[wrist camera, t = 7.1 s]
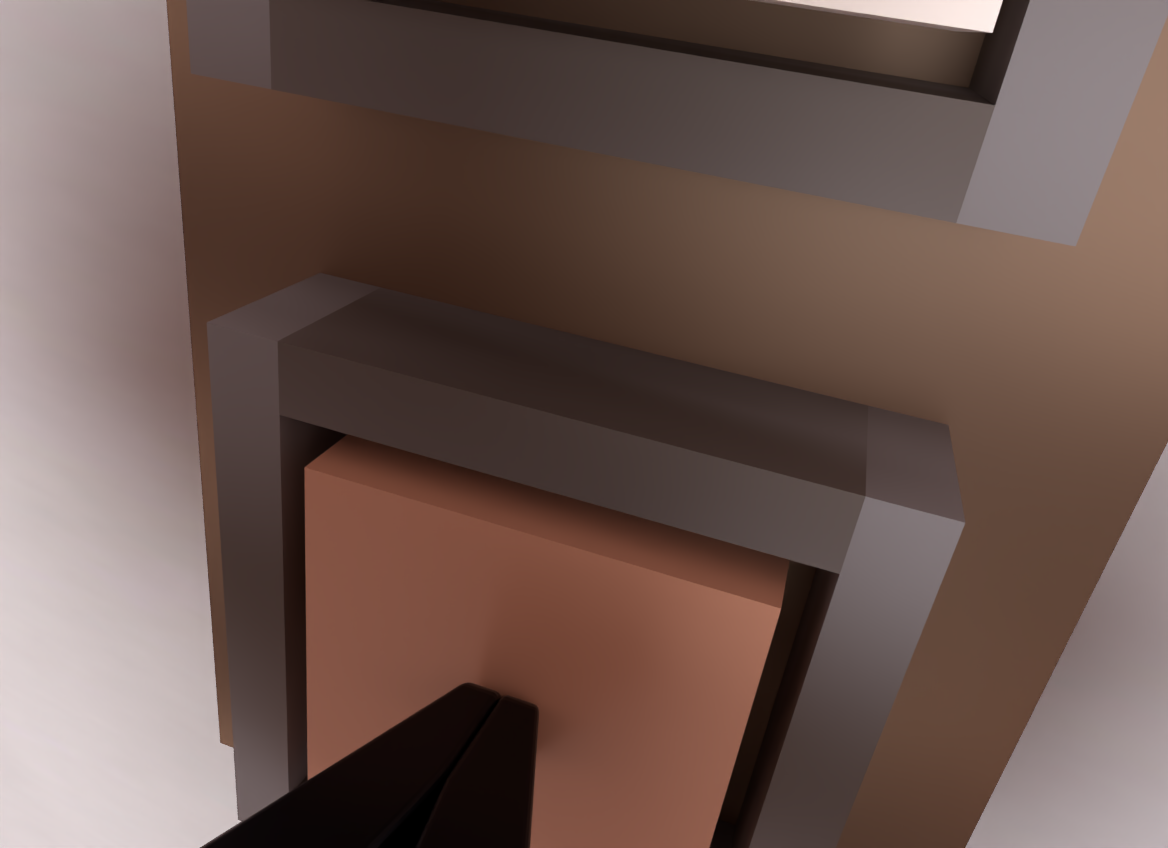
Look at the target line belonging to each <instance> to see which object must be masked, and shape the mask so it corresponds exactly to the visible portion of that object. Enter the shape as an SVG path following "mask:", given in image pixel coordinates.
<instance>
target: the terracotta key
mask: <svg viewBox="0 0 1168 848" xmlns="http://www.w3.org/2000/svg"><path fill="white" fill-rule="evenodd" d="M304 474H305V570H306V667H307V763H308V780H309V779H310V778H312V777H314V776H315V775H317V774H318V773H320V772H322V771H323V770H325V769H326V768H328V767H330V766H331V765H333V764H334V763H336V762H338V761H339V760H341V759H342V758H344V757H346V756H347V755H349V754H350V753H352V752H354V751H355V750H357V749H358V748H360V747H362V746H363V745H365V744H366V743H368V742H370V741H371V740H373V739H374V738H376V737H378V736H379V735H381V734H382V733H384V732H386V731H387V730H389V729H390V728H392V727H393V726H395V725H397V724H398V723H400V722H401V721H403V720H405V719H406V718H408V717H409V716H411V715H413V714H414V713H416V712H417V711H419V710H421V709H422V708H424V707H425V706H427V705H429V704H430V703H432V702H433V701H435V700H437V699H438V698H440V697H441V696H443V695H445V694H446V693H448V692H449V691H451V690H453V689H454V688H456V687H457V686H459V685H461V684H463V683H467V682H470V683H474V684H477V685H480V686H483V687H486V688H489V689H492V690H495V691H497V692H498V693H499V694H500V695H501V698H502V697H504V696H506V695H509V696H512V697H515V698H518V699H521V700H524V701H527V702H530V703H533V704H535V705H537V707H538V708H539V724H538V739H537V754H536V768H535V783H534V798H533V813H532V828H531V843H530V848H709V847H710V844H711V841H712V837H713V834H714V831H715V827H716V824H717V821H718V817H719V814H720V811H721V807H722V804H723V801H724V797H725V794H726V791H727V787H728V784H729V781H730V777H731V774H732V771H733V767H734V764H735V761H736V757H737V754H738V751H739V747H740V744H741V741H742V737H743V734H744V731H745V727H746V724H747V721H748V717H749V714H750V711H751V707H752V704H753V701H754V698H755V694H756V691H757V688H758V684H759V681H760V678H761V674H762V671H763V668H764V664H765V661H766V658H767V654H768V651H769V648H770V644H771V641H772V638H773V634H774V631H775V628H776V624H777V621H778V618H779V614H780V611H781V607H782V601H783V595H784V589H785V583H786V577H787V572H788V566H789V560H788V559H785V558H781V557H778V556H774V555H771V554H767V553H764V552H760V551H757V550H753V549H750V548H746V547H743V546H739V545H736V544H732V543H729V542H725V541H722V540H718V539H715V538H711V537H707V536H704V535H700V534H697V533H693V532H690V531H686V530H683V529H679V528H676V527H672V526H669V525H665V524H662V523H658V522H655V521H651V520H648V519H644V518H641V517H637V516H634V515H630V514H627V513H623V512H619V511H616V510H612V509H609V508H605V507H602V506H598V505H595V504H591V503H588V502H584V501H581V500H577V499H574V498H570V497H567V496H563V495H560V494H556V493H553V492H549V491H546V490H542V489H538V488H535V487H531V486H528V485H524V484H521V483H517V482H514V481H510V480H507V479H503V478H500V477H496V476H493V475H489V474H486V473H482V472H479V471H475V470H472V469H468V468H465V467H461V466H458V465H454V464H450V463H447V462H443V461H440V460H436V459H433V458H429V457H426V456H422V455H419V454H415V453H412V452H408V451H405V450H401V449H398V448H394V447H391V446H387V445H384V444H380V443H377V442H373V441H370V440H366V439H362V438H359V437H355V436H352V435H346V436H345V437H344V438H342V439H341V440H340V441H338V442H337V443H336V444H334V445H333V446H332V447H330V448H329V449H328V450H327V451H325V452H324V453H323V454H321V455H320V456H319V457H317V458H316V459H315V460H313V461H312V462H311V463H310V464H308V465H307V466H306V467H304Z"/></svg>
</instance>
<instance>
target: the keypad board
mask: <svg viewBox="0 0 1168 848" xmlns="http://www.w3.org/2000/svg"><path fill="white" fill-rule="evenodd" d="M167 14H168V27H169V41H170V55H171V69H172V82H173V96H174V110H175V124H176V137H177V151H178V165H179V179H180V192H181V206H182V220H183V234H184V247H185V261H186V275H187V289H188V303H189V316H190V330H191V344H192V358H193V371H194V385H195V399H196V413H197V426H198V440H199V454H200V468H201V481H202V495H203V509H204V523H205V536H206V550H207V564H208V578H209V592H210V605H211V619H212V633H213V647H214V660H215V674H216V688H217V702H218V715H219V729H220V743H222V744H225V745H228V746H230V747H233V748H234V762H235V778H236V793H237V809H238V820H240V821H243V820H245V819H247V818H248V817H250V816H251V815H253V814H255V813H256V812H258V811H259V810H261V809H263V808H264V807H266V806H267V805H269V804H271V803H272V802H274V801H275V800H277V799H279V798H280V797H282V796H283V795H285V794H287V793H288V792H290V791H291V790H293V789H294V788H296V787H298V786H299V785H301V784H302V783H304V782H306V781H307V780H308V763H307V667H306V570H305V474H304V467H306V466H307V465H308V464H310V463H311V462H312V461H313V460H315V459H316V458H317V457H319V456H320V455H321V454H323V453H324V452H325V451H327V450H328V449H329V448H330V447H332V446H333V445H334V444H336V443H337V442H338V441H340V440H341V439H342V438H344V437H345V436H346V435H352V436H355V437H359V438H362V439H366V440H370V441H373V442H377V443H380V444H384V445H387V446H391V447H394V448H398V449H401V450H405V451H408V452H412V453H415V454H419V455H422V456H426V457H429V458H433V459H436V460H440V461H443V462H447V463H450V464H454V465H458V466H461V467H465V468H468V469H472V470H475V471H479V472H482V473H486V474H489V475H493V476H496V477H500V478H503V479H507V480H510V481H514V482H517V483H521V484H524V485H528V486H531V487H535V488H538V489H542V490H546V491H549V492H553V493H556V494H560V495H563V496H567V497H570V498H574V499H577V500H581V501H584V502H588V503H591V504H595V505H598V506H602V507H605V508H609V509H612V510H616V511H619V512H623V513H627V514H630V515H634V516H637V517H641V518H644V519H648V520H651V521H655V522H658V523H662V524H665V525H669V526H672V527H676V528H679V529H683V530H686V531H690V532H693V533H697V534H700V535H704V536H707V537H711V538H715V539H718V540H722V541H725V542H729V543H732V544H736V545H739V546H743V547H746V548H750V549H753V550H757V551H760V552H764V553H767V554H771V555H774V556H778V557H781V558H785V559H788V560H789V566H788V572H787V577H786V583H785V589H784V595H783V601H782V607H781V611H780V614H779V618H778V621H777V624H776V628H775V631H774V634H773V638H772V641H771V644H770V648H769V651H768V654H767V658H766V661H765V664H764V668H763V671H762V674H761V678H760V681H759V684H758V688H757V691H756V694H755V698H754V701H753V704H752V707H751V711H750V714H749V717H748V721H747V724H746V727H745V731H744V734H743V737H742V741H741V744H740V747H739V751H738V754H737V757H736V761H735V764H734V767H733V771H732V774H731V777H730V781H729V784H728V787H727V791H726V794H725V797H724V801H723V804H722V807H721V811H720V814H719V817H718V821H717V824H716V827H715V831H714V834H713V837H712V841H711V844H710V847H709V848H965V847H966V845H967V843H968V841H969V839H970V837H971V835H972V833H973V831H974V829H975V827H976V825H977V823H978V821H979V819H980V817H981V815H982V813H983V811H984V809H985V807H986V805H987V803H988V801H989V799H990V797H991V795H992V793H993V791H994V789H995V787H996V785H997V783H998V781H999V779H1000V777H1001V775H1002V773H1003V771H1004V769H1005V767H1006V765H1007V763H1008V761H1009V759H1010V757H1011V755H1012V753H1013V751H1014V749H1015V747H1016V745H1017V743H1018V741H1019V739H1020V737H1021V735H1022V733H1023V731H1024V729H1025V727H1026V725H1027V723H1028V721H1029V719H1030V717H1031V715H1032V713H1033V711H1034V708H1035V706H1036V704H1037V702H1038V700H1039V698H1040V696H1041V694H1042V692H1043V690H1044V688H1045V686H1046V684H1047V682H1048V680H1049V678H1050V676H1051V674H1052V672H1053V670H1054V668H1055V666H1056V664H1057V662H1058V660H1059V658H1060V656H1061V654H1062V652H1063V650H1064V648H1065V646H1066V644H1067V642H1068V640H1069V638H1070V636H1071V634H1072V632H1073V630H1074V628H1075V626H1076V624H1077V622H1078V620H1079V618H1080V616H1081V614H1082V612H1083V610H1084V608H1085V606H1086V604H1087V602H1088V600H1089V598H1090V596H1091V594H1092V592H1093V590H1094V588H1095V586H1096V584H1097V582H1098V580H1099V578H1100V576H1101V574H1102V572H1103V570H1104V568H1105V566H1106V564H1107V562H1108V560H1109V558H1110V556H1111V554H1112V552H1113V550H1114V548H1115V546H1116V544H1117V542H1118V540H1119V538H1120V536H1121V534H1122V532H1123V530H1124V528H1125V526H1126V524H1127V522H1128V520H1129V518H1130V516H1131V514H1132V512H1133V510H1134V508H1135V506H1136V504H1137V502H1138V500H1139V498H1140V496H1141V494H1142V492H1143V490H1144V488H1145V486H1146V484H1147V482H1148V480H1149V478H1150V476H1151V474H1152V472H1153V470H1154V468H1155V466H1156V464H1157V462H1158V460H1159V458H1160V456H1161V454H1162V452H1163V450H1164V448H1165V446H1166V444H1167V442H1168V0H1003V2H1002V5H1001V8H1000V11H999V14H998V17H997V20H996V24H995V27H994V30H993V33H984V32H957V31H950V30H943V29H937V28H930V27H923V26H917V25H910V24H904V23H897V22H890V21H884V20H877V19H871V18H864V17H857V16H851V15H844V14H837V13H831V12H824V11H818V10H811V9H804V8H798V7H791V6H784V5H778V4H771V3H765V2H758V1H751V0H167Z"/></svg>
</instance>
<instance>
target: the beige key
mask: <svg viewBox="0 0 1168 848" xmlns="http://www.w3.org/2000/svg"><path fill="white" fill-rule="evenodd" d="M751 1H758V2H765V3H771V4H778V5H784V6H791V7H798V8H804V9H811V10H818V11H824V12H831V13H837V14H844V15H851V16H857V17H864V18H871V19H877V20H884V21H890V22H897V23H904V24H910V25H917V26H923V27H930V28H937V29H943V30H950V31H957V32H984V33H993V30H994V27H995V24H996V20H997V17H998V14H999V11H1000V8H1001V5H1002V2H1003V0H751Z"/></svg>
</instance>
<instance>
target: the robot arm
mask: <svg viewBox="0 0 1168 848" xmlns="http://www.w3.org/2000/svg"><path fill="white" fill-rule="evenodd" d="M538 724H539V708H538V707H537V705H535V704H533V703H530V702H527V701H524V700H521V699H518V698H515V697H512V696H509V695H506V696H504V697H502V698H501V695H500V694H499V693H498V692H497V691H495V690H492V689H489V688H486V687H483V686H480V685H477V684H474V683H470V682H467V683H463V684H461V685H459V686H457V687H456V688H454V689H453V690H451V691H449V692H448V693H446V694H445V695H443V696H441V697H440V698H438V699H437V700H435V701H433V702H432V703H430V704H429V705H427V706H425V707H424V708H422V709H421V710H419V711H417V712H416V713H414V714H413V715H411V716H409V717H408V718H406V719H405V720H403V721H401V722H400V723H398V724H397V725H395V726H393V727H392V728H390V729H389V730H387V731H386V732H384V733H382V734H381V735H379V736H378V737H376V738H374V739H373V740H371V741H370V742H368V743H366V744H365V745H363V746H362V747H360V748H358V749H357V750H355V751H354V752H352V753H350V754H349V755H347V756H346V757H344V758H342V759H341V760H339V761H338V762H336V763H334V764H333V765H331V766H330V767H328V768H326V769H325V770H323V771H322V772H320V773H318V774H317V775H315V776H314V777H312V778H310V779H309V780H307V781H306V782H304V783H302V784H301V785H299V786H298V787H296V788H294V789H293V790H291V791H290V792H288V793H287V794H285V795H283V796H282V797H280V798H279V799H277V800H275V801H274V802H272V803H271V804H269V805H267V806H266V807H264V808H263V809H261V810H259V811H258V812H256V813H255V814H253V815H251V816H250V817H248V818H247V819H245V820H243V821H242V822H240V823H239V824H237V825H235V826H234V827H232V828H231V829H229V830H227V831H226V832H224V833H223V834H221V835H219V836H218V837H216V838H215V839H213V840H211V841H210V842H208V843H207V844H205V845H203V846H202V847H200V848H530V843H531V828H532V813H533V798H534V783H535V768H536V754H537V739H538Z"/></svg>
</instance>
